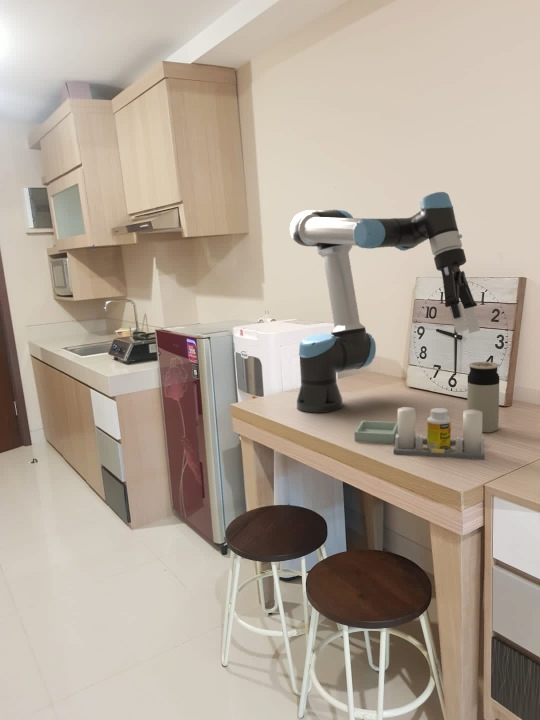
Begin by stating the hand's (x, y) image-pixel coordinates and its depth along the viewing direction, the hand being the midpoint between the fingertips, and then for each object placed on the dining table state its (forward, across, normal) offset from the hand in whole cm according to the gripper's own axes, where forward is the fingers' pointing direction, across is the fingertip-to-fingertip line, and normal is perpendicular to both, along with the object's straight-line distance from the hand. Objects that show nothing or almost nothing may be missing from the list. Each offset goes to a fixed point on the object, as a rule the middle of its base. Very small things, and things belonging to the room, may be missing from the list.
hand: (468, 331), depth 139 cm
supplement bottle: (+27, -8, +12) cm, 31 cm away
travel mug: (+26, +12, +6) cm, 29 cm away
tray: (+22, -4, +29) cm, 36 cm away
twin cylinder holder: (+27, -8, +12) cm, 31 cm away
